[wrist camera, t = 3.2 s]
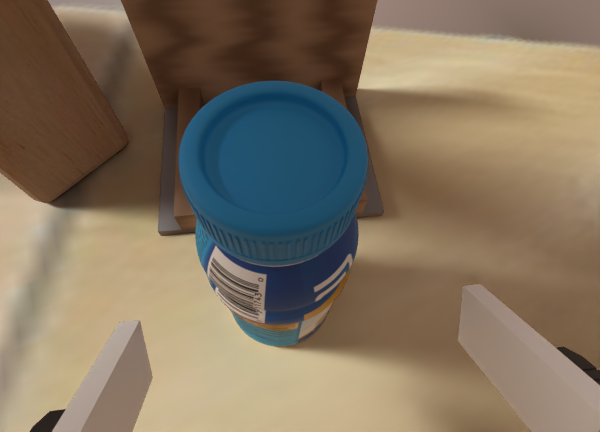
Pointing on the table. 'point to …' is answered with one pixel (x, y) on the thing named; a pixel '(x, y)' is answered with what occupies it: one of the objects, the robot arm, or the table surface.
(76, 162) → the wooden block
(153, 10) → the backstop holder
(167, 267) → the table surface
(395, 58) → the table surface
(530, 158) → the table surface
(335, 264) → the beverage bottle
